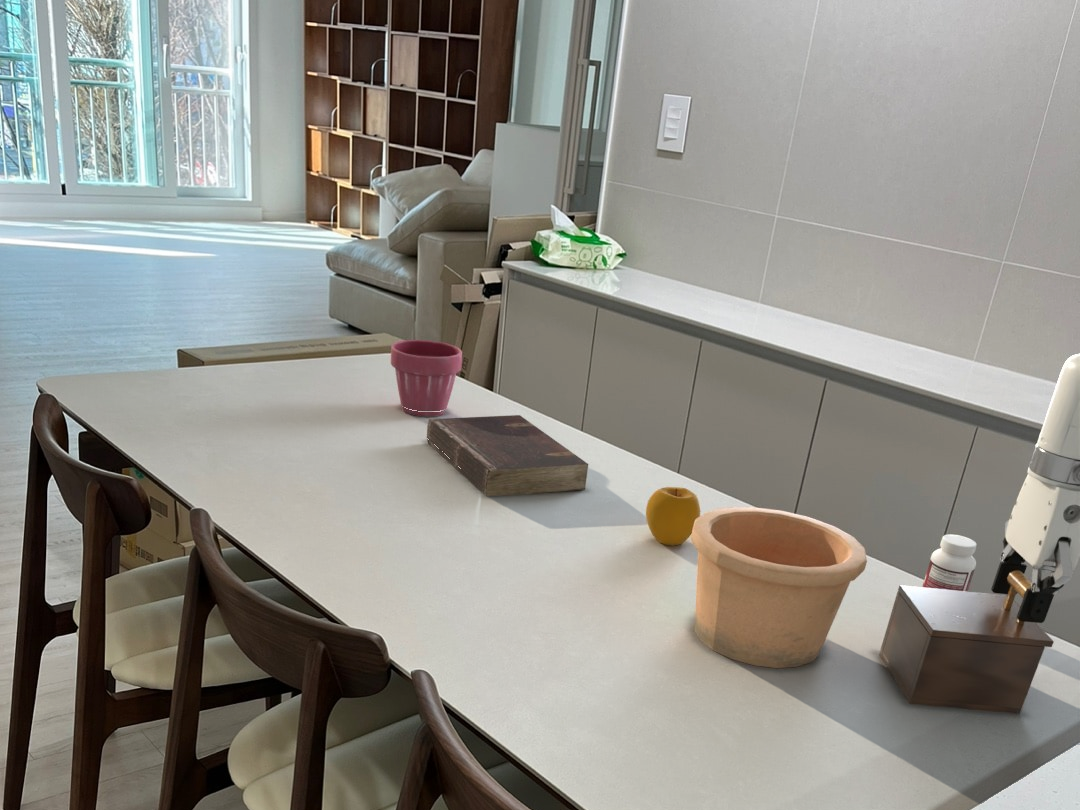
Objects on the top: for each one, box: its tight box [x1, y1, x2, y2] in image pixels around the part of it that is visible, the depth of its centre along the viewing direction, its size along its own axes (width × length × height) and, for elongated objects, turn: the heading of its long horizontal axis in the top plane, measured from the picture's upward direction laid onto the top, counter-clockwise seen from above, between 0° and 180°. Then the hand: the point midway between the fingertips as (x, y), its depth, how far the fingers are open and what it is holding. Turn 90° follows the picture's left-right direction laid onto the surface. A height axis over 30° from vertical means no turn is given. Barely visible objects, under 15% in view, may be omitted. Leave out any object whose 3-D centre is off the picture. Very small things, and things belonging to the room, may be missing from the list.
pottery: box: [690, 506, 868, 669], centre depth 137 cm, size 22×22×14 cm
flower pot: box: [390, 339, 463, 418], centre depth 215 cm, size 14×14×13 cm
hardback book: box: [426, 414, 589, 497], centre depth 190 cm, size 29×19×5 cm, turn 25°
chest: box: [878, 590, 1046, 715], centre depth 132 cm, size 14×13×9 cm
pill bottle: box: [921, 534, 978, 592], centre depth 152 cm, size 6×6×11 cm
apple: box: [645, 486, 701, 547], centre depth 166 cm, size 8×8×9 cm
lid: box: [897, 570, 1055, 648], centre depth 129 cm, size 15×13×6 cm
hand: (1016, 605), depth 129 cm, fingers open, 7 cm apart
